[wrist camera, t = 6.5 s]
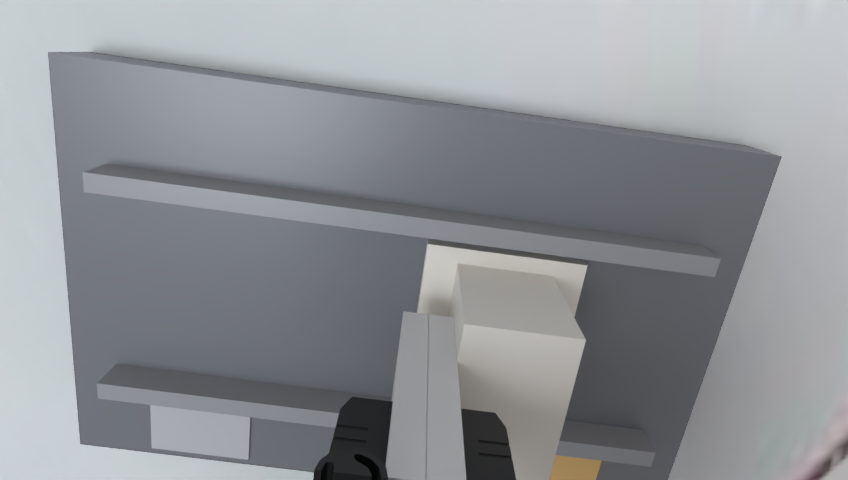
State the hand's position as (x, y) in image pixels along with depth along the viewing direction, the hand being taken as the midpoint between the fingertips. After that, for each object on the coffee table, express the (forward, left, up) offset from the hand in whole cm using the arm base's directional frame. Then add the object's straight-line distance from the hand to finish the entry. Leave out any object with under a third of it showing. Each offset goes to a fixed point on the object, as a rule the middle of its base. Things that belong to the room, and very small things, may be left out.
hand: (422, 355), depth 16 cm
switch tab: (0, -2, -2) cm, 3 cm away
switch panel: (0, +1, -5) cm, 5 cm away
